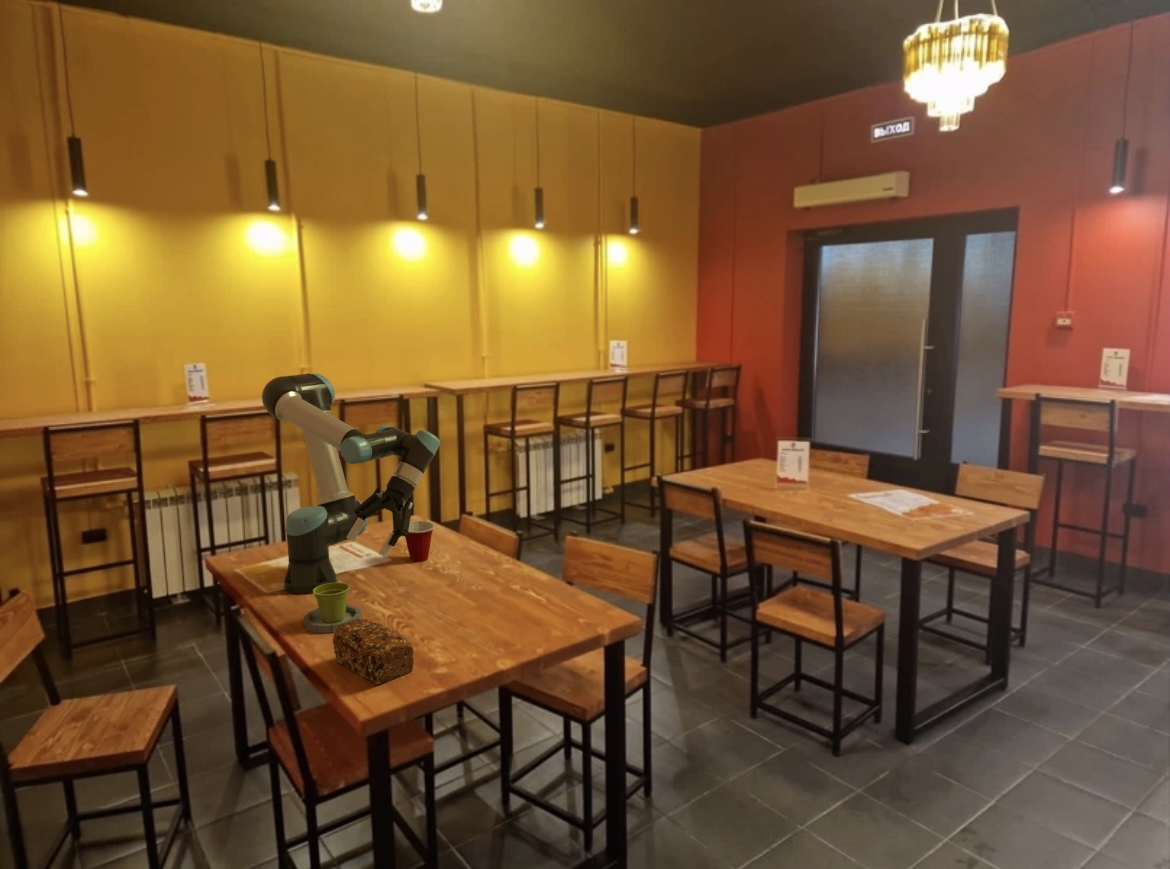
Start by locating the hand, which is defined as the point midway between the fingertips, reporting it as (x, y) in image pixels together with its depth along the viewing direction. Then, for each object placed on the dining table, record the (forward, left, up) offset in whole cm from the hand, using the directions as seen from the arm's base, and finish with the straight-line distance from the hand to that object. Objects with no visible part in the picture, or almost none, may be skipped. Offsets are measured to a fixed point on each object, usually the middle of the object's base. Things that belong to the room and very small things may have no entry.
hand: (365, 547), depth 218 cm
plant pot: (-7, -10, -17) cm, 21 cm away
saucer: (-7, -10, -18) cm, 21 cm away
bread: (+12, -37, -18) cm, 42 cm away
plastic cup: (+5, +42, -18) cm, 46 cm away
